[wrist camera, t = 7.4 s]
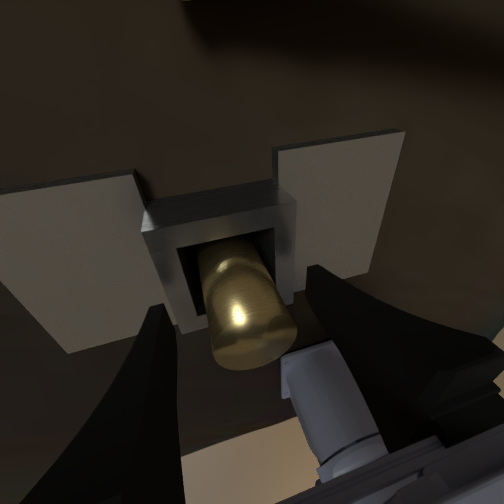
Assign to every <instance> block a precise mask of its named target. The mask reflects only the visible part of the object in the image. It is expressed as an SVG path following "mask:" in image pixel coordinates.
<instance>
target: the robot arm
mask: <svg viewBox="0 0 504 504" xmlns="http://www.w3.org/2000/svg"><path fill="white" fill-rule="evenodd" d="M305 296H306V298H307V300H308V302H309V304H310V306H311V308H312V310H313V312H314V314H315V315H316V317H317V318H318V320H319V321H320V323H321V324H322V326H323V327H324V329H325V330H326V332H327V333H328V335H329V336H330V338H331V339H332V340H330V341H327V342H323V343H320V344H317V345H314V346H311V347H308V348H305V349H301V350H298V351H295V352H292V353H289V354H286V355H283V356H282V357H281V396H282V398H283V399H285V398H288V397H290V399H291V401H292V404H293V406H294V409H295V411H296V414H297V416H298V419H299V421H300V424H301V427H302V429H303V432H304V434H305V437H306V439H307V442H308V444H309V447H310V449H311V450H312V452H313V453H314V455H315V456H316V457H317V459H318V462H319V464H320V467H319V468H317V472H318V475H319V478H320V479H318V480H317V481H316V483H315V487H313V488H310V489H308V490H306V491H303V492H301V493H299V494H297V495H294V496H292V497H289V498H287V499H285V500H282V501H280V502H278V503H275V504H504V399H503V398H502V397H501V396H500V395H499V394H498V393H499V392H500V391H501V390H500V388H499V387H498V386H497V385H496V384H495V383H494V382H493V380H494V379H495V378H496V377H497V376H498V375H499V374H500V373H501V372H502V371H503V370H504V351H503V350H501V349H500V348H499V347H498V346H496V345H495V344H494V343H493V342H491V341H490V340H489V339H488V338H486V337H483V336H479V335H476V334H472V333H468V332H464V331H461V330H457V329H453V328H450V327H447V326H444V325H441V324H437V323H434V322H431V321H428V320H426V319H423V318H420V317H417V316H415V315H412V314H410V313H407V312H405V311H402V310H400V309H397V308H395V307H393V306H391V305H389V304H386V303H384V302H382V301H380V300H378V299H376V298H374V297H372V296H370V295H368V294H367V293H365V292H363V291H361V290H359V289H358V288H356V287H354V286H352V285H351V284H349V283H347V282H346V281H344V280H343V279H341V278H339V277H338V276H336V275H335V274H333V273H331V272H330V271H328V270H327V269H325V268H324V267H322V266H320V265H319V264H316V265H312V266H308V267H307V273H306V287H305ZM19 504H186V503H185V495H184V485H183V476H182V466H181V456H180V444H179V433H178V420H177V342H176V332H175V329H174V326H173V324H172V321H171V319H170V317H169V314H168V312H167V309H166V307H165V305H164V303H161V304H157V305H153V306H150V307H149V309H148V311H147V314H146V316H145V319H144V321H143V323H142V326H141V328H140V330H139V333H138V335H137V337H136V339H135V341H134V343H133V345H132V347H131V349H130V351H129V353H128V355H127V357H126V359H125V361H124V363H123V365H122V366H121V368H120V370H119V372H118V374H117V375H116V377H115V379H114V381H113V382H112V384H111V385H110V387H109V389H108V390H107V392H106V393H105V395H104V397H103V398H102V400H101V401H100V402H99V404H98V405H97V407H96V408H95V410H94V411H93V413H92V414H91V416H90V417H89V418H88V420H87V421H86V423H85V424H84V425H83V427H82V428H81V429H80V431H79V432H78V433H77V435H76V436H75V437H74V438H73V440H72V441H71V442H70V444H69V445H68V446H67V447H66V449H65V450H64V451H63V453H62V454H61V455H60V456H59V458H58V459H57V460H56V461H55V463H54V464H53V465H52V466H51V467H50V469H49V470H48V471H47V472H46V473H45V474H44V476H43V477H42V478H41V479H40V480H39V481H38V483H37V484H36V485H35V486H34V487H33V488H32V490H31V491H30V492H29V493H28V494H27V495H26V497H25V498H24V499H23V500H22V501H21V502H20V503H19Z"/></svg>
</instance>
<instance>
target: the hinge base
mask: <svg viewBox="0 0 504 504" xmlns="http://www.w3.org/2000/svg"><path fill="white" fill-rule="evenodd" d="M405 132H406V131H401V130H397V129H389V130H382V131H376V132H369V133H362V134H356V135H349V136H343V137H336V138H330V139H323V140H317V141H310V142H304V143H297V144H291V145H284V146H278V147H272V173H273V179H268V180H263V181H257V182H252V183H246V184H240V185H235V186H229V187H223V188H218V189H212V190H207V191H201V192H195V193H190V194H184V195H178V196H173V197H167V198H162V199H156V200H150V201H146V200H145V197H144V194H143V191H142V188H141V186H140V183H139V180H138V177H137V174H136V172H135V169H127V170H121V171H114V172H108V173H101V174H95V175H88V176H82V177H75V178H69V179H62V180H56V181H49V182H43V183H36V184H30V185H23V186H16V187H10V188H3V189H0V281H1V282H2V283H3V284H4V285H5V286H6V287H7V288H8V289H9V290H10V292H11V293H12V294H13V295H14V296H15V297H16V298H17V299H18V300H19V301H20V302H21V303H22V305H23V306H24V307H25V308H26V309H27V310H28V311H29V312H30V313H31V314H32V315H33V316H34V317H35V319H36V320H37V321H38V322H39V323H40V324H41V325H42V326H43V327H44V328H45V329H46V330H47V332H48V333H49V334H50V335H51V336H52V337H53V338H54V339H55V340H56V341H57V342H58V343H59V345H60V346H61V347H62V348H63V349H64V350H65V351H66V352H67V353H68V354H69V353H72V352H76V351H80V350H83V349H87V348H91V347H94V346H98V345H102V344H105V343H109V342H113V341H117V340H120V339H124V338H128V337H131V336H135V335H138V333H139V330H140V328H141V326H142V323H143V321H144V319H145V316H146V314H147V311H148V309H149V307H150V306H153V305H157V304H161V303H164V305H165V307H166V309H167V312H168V314H169V317H170V319H171V321H172V324H173V325H176V324H178V326H179V328H180V331H181V333H182V334H185V333H189V332H192V331H196V330H200V329H203V328H207V327H209V326H208V320H207V315H206V309H205V303H204V297H203V291H202V286H201V280H200V277H199V278H195V279H192V276H191V273H190V269H189V266H188V262H187V259H186V256H185V252H184V249H183V247H185V246H189V245H194V244H199V243H203V242H208V241H213V240H217V239H222V238H226V237H231V236H236V235H240V234H245V233H250V232H254V231H257V234H258V248H259V256H260V258H261V260H262V262H263V263H264V265H265V267H266V269H267V271H268V273H269V275H270V277H271V278H272V280H273V282H274V284H275V286H276V288H277V290H278V292H279V293H280V295H281V297H282V299H283V301H284V303H285V305H289V304H293V297H294V292H297V291H301V290H305V287H306V273H307V267H308V266H312V265H316V264H319V265H320V266H322V267H324V268H325V269H327V270H328V271H330V272H331V273H333V274H335V275H336V276H338V277H339V278H341V279H345V278H349V277H352V276H356V275H360V274H364V273H367V272H368V269H369V266H370V262H371V258H372V255H373V251H374V247H375V243H376V240H377V236H378V232H379V229H380V225H381V221H382V217H383V214H384V210H385V206H386V203H387V199H388V195H389V191H390V188H391V184H392V180H393V177H394V173H395V169H396V165H397V162H398V158H399V154H400V151H401V147H402V143H403V139H404V136H405Z"/></svg>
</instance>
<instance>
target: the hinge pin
mask: <svg viewBox="0 0 504 504" xmlns="http://www.w3.org/2000/svg"><path fill="white" fill-rule="evenodd" d="M195 251H196V257H197V262H198V268H199V274H200V280H201V286H202V291H203V297H204V303H205V309H206V315H207V320H208V326H209V332H210V338H211V344H212V349H213V355H214V358H215V360H216V362H217V363H218V364H219V365H221V366H222V367H224V368H227V369H231V370H248V369H253V368H257V367H260V366H263V365H266V364H268V363H270V362H272V361H274V360H276V359H277V358H279V357H280V356H281V355H283V354H284V353H285V352H286V351H287V350H288V349H289V348H290V347H291V346H292V344H293V343H294V341H295V339H296V336H297V326H296V324H295V322H294V320H293V318H292V316H291V314H290V312H289V310H288V309H287V307H286V305H285V303H284V301H283V299H282V297H281V295H280V293H279V292H278V290H277V288H276V286H275V284H274V282H273V280H272V278H271V277H270V275H269V273H268V271H267V269H266V267H265V265H264V263H263V262H262V260H261V258H260V256H259V254H258V252H257V250H256V248H255V246H254V245H253V243H252V241H251V239H250V237H249V235H248V233H245V234H240V235H236V236H231V237H226V238H222V239H217V240H213V241H208V242H203V243H199V244H195Z"/></svg>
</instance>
